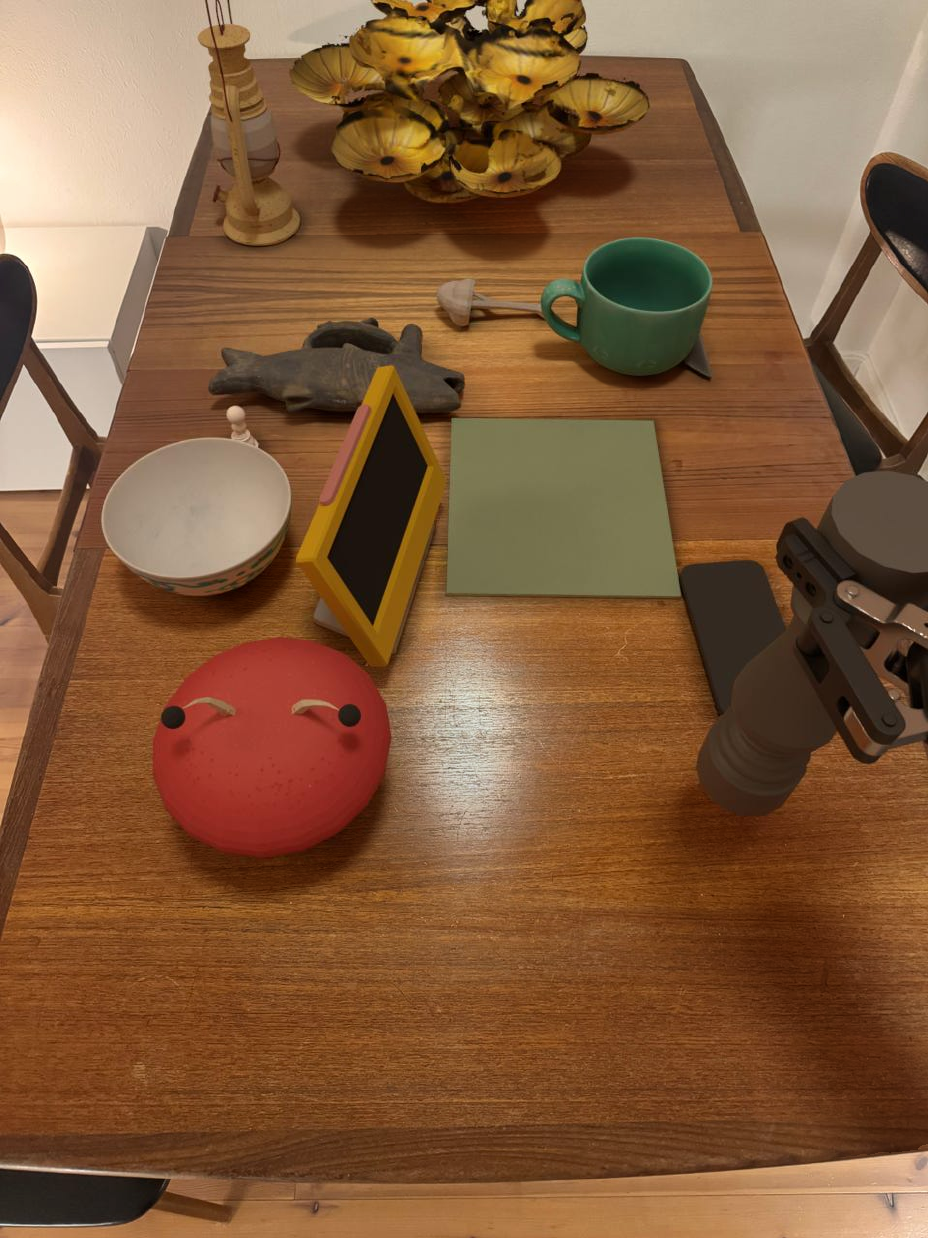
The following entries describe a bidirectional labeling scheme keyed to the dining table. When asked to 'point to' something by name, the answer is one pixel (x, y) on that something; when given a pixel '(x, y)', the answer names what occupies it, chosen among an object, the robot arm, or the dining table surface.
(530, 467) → the mat
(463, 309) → the mushroom
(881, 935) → the dining table surface
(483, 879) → the dining table surface
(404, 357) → the ceramic vessel
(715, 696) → the phone
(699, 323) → the mug
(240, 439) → the chess pawn
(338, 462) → the yellow framed monitor
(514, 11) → the mushroom
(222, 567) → the chinaware
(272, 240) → the lantern
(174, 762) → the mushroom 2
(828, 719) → the candle holder
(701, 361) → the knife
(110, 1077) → the dining table surface
